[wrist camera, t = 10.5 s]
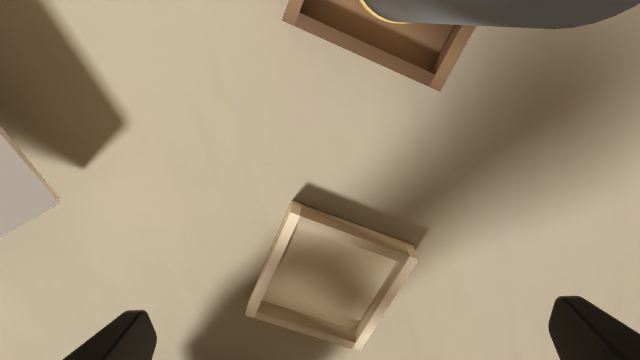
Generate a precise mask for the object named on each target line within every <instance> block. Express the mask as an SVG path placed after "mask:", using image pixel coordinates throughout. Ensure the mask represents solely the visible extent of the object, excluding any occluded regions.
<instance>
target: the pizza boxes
mask: <svg viewBox="0 0 640 360" xmlns="http://www.w3.org/2000/svg"><path fill="white" fill-rule="evenodd" d="M57 204H59V196H58V195H57V194H56V192H55V191H54V190H53V189H52V187H51V186H50V185H49V184H48V183H47V181H46V180H45V179H44V178H43V177H42V175H41V174H40V173H39V172H38V171H37V169H36V168H35V167H34V166H33V165H32V163H31V162H30V161H29V160H28V159H27V157H26V156H25V155H24V154H23V153H22V151H21V150H20V149H19V148H18V147H17V145H16V144H15V143H14V142H13V141H12V139H11V138H10V137H9V136H8V135H7V133H6V132H5V131H4V130H3V129H2V127H1V126H0V237H1V236H2V235H4V234H6V233H8V232H9V231H11V230H13V229H15V228H17V227H18V226H20V225H22V224H24V223H25V222H27V221H29V220H31V219H32V218H34V217H36V216H38V215H40V214H41V213H43V212H45V211H47V210H48V209H50V208H52V207H54V206H55V205H57Z"/></svg>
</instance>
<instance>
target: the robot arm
mask: <svg viewBox="0 0 640 360" xmlns="http://www.w3.org/2000/svg"><path fill="white" fill-rule="evenodd" d="M549 333H550V336H551V338H552V341H553V343H554V346H555V348H556V351H557V353H558V355H559V358H560V360H640V334H639V333H637V332H636V331H634V330H633V329H631V328H630V327H628V326H626V325H625V324H623V323H622V322H620V321H619V320H617V319H615V318H614V317H612V316H611V315H609V314H608V313H606V312H604V311H603V310H601V309H600V308H598V307H596V306H595V305H593V304H592V303H590V302H589V301H587V300H585V299H584V298H582V297H580V296H560V297H558V298H557V299H556V300H555V303H554V306H553V310H552V313H551V317H550V320H549ZM156 342H157V336H156V332H155V330H154V327H153V325H152V323H151V320H150V318H149V316H148V314H147V312H146V311H144V310H129V311H126V312H124V313H122V314H121V315H120V316H118V317H117V318H116V319H115V320H113V321H112V322H111V323H109V324H108V325H107V326H106V327H104V328H103V329H102V330H100V331H99V332H98V333H96V334H95V335H94V336H93V337H91V338H90V339H89V340H87V341H86V342H85V343H84V344H82V345H81V346H80V347H78V348H77V349H76V350H75V351H73V352H72V353H71V354H69V355H68V356H67V357H65V358H64V359H63V360H152V357H153V353H154V350H155V347H156Z"/></svg>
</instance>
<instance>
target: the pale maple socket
mask: <svg viewBox="0 0 640 360" xmlns="http://www.w3.org/2000/svg"><path fill="white" fill-rule="evenodd" d="M418 260H419V259H418V256H417V254H416V251H415V249H414V247H413V245H411V244H408V243H406V242H403V241H400V240H398V239H395V238H392V237H389V236H387V235H384V234H381V233H379V232H376V231H373V230H371V229H368V228H365V227H363V226H360V225H357V224H355V223H352V222H349V221H347V220H344V219H341V218H339V217H336V216H333V215H330V214H328V213H325V212H322V211H320V210H317V209H314V208H312V207H309V206H306V205H304V204H301V203H298V202H296V201H293V200H292V202H291V204H290V206H289V209H288V211H287V213H286V216H285V218H284V220H283V222H282V225H281V227H280V229H279V232H278V234H277V236H276V238H275V241H274V243H273V245H272V248H271V250H270V252H269V254H268V257H267V259H266V261H265V264H264V266H263V268H262V270H261V273H260V275H259V277H258V280H257V282H256V284H255V287H254V289H253V291H252V293H251V296H250V298H249V301H248V305H247V309H246V313H245V315H246V316H249V317H252V318H255V319H258V320H262V321H265V322H268V323H271V324H274V325H278V326H281V327H284V328H287V329H290V330H293V331H297V332H300V333H303V334H306V335H309V336H312V337H316V338H319V339H322V340H325V341H328V342H332V343H335V344H338V345H341V346H344V347H347V348H351V349H354V350H357V351H360V350H361V349H362V347H363V346H364V344H365V343H366V341H367V339H368V338H369V336H370V335H371V333H372V332H373V330H374V329H375V327H376V325H377V324H378V322H379V321H380V319H381V318H382V316H383V315H384V313H385V311H386V310H387V308H388V307H389V305H390V304H391V302H392V300H393V299H394V297H395V296H396V294H397V293H398V291H399V290H400V288H401V286H402V285H403V283H404V282H405V280H406V279H407V277H408V276H409V274H410V272H411V271H412V269H413V268H414V266H415V265H416V263H417V262H418Z"/></svg>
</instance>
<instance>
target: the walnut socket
mask: <svg viewBox="0 0 640 360" xmlns="http://www.w3.org/2000/svg"><path fill="white" fill-rule="evenodd" d="M282 21H285V22H287V23H289V24H291V25H294V26H296V27H298V28H300V29H302V30H305V31H307V32H309V33H311V34H314V35H316V36H318V37H320V38H322V39H325V40H327V41H329V42H331V43H333V44H336V45H338V46H340V47H342V48H345V49H347V50H349V51H351V52H353V53H356V54H358V55H360V56H362V57H365V58H367V59H369V60H371V61H373V62H376V63H378V64H380V65H382V66H384V67H387V68H389V69H391V70H393V71H396V72H398V73H400V74H402V75H404V76H407V77H409V78H411V79H413V80H416V81H418V82H420V83H422V84H424V85H427V86H429V87H431V88H433V89H435V90H438V91H441V89H442V87H443V85H444V83H445V81H446V80H447V78H448V76H449V74H450V72H451V71H452V69H453V67H454V65H455V63H456V61H457V60H458V58H459V56H460V54H461V52H462V50H463V49H464V47H465V45H466V43H467V41H468V39H469V38H470V36H471V34H472V32H473V30H474V28H475V27H476V26H475V25H452V24H429V23H404V24H401V23H389V22H384V21H381V20H378V19H377V18H375V17H373V16H372V15H370V14H369V13H368V12H367V11H366V10H365V9H364V8H363V7H362V6H361V5H360V3H359V2H358V0H289V2H288V4H287V7H286V10H285V13H284V16H283V19H282Z"/></svg>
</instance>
